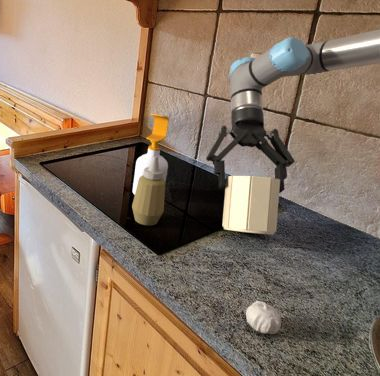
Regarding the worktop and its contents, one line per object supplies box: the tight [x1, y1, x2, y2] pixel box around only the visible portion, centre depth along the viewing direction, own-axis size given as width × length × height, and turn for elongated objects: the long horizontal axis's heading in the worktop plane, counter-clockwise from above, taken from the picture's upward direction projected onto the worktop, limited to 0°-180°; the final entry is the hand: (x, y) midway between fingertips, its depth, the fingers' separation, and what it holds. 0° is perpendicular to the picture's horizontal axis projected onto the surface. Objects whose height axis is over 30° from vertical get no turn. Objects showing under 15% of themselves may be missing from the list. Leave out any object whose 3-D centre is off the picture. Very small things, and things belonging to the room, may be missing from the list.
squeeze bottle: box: [131, 156, 166, 227], centre depth 103 cm, size 8×8×18 cm
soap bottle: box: [132, 113, 170, 196], centre depth 116 cm, size 9×9×25 cm
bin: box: [221, 175, 280, 235], centre depth 98 cm, size 11×11×13 cm
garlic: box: [245, 300, 282, 335], centre depth 71 cm, size 6×5×5 cm
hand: (250, 189), depth 99 cm, fingers open, 13 cm apart
